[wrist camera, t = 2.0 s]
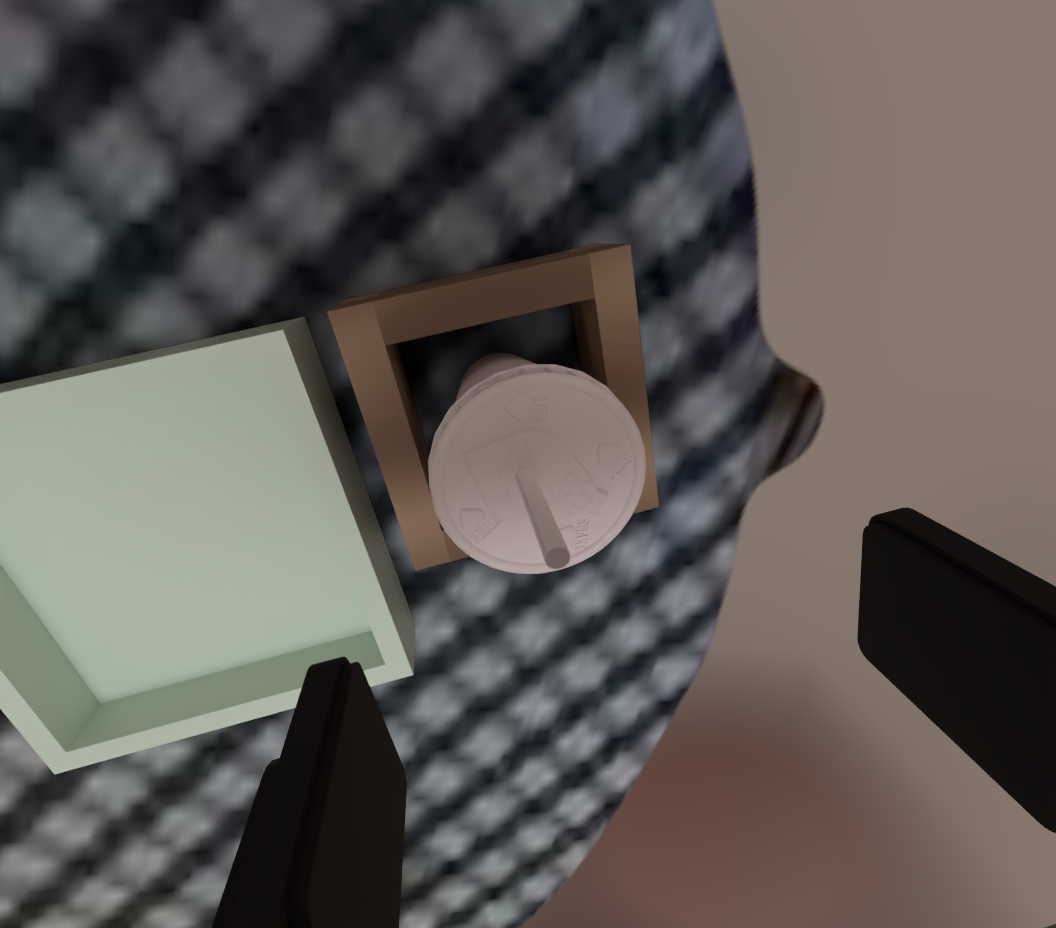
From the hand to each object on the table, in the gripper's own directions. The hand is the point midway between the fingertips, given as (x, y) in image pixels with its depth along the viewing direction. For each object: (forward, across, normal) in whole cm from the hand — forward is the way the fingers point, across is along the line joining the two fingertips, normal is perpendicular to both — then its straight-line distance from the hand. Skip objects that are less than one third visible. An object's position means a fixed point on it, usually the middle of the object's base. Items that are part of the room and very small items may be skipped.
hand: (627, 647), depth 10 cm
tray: (+16, +15, +2) cm, 22 cm away
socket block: (+16, 0, -1) cm, 16 cm away
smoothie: (+16, 0, -1) cm, 16 cm away
